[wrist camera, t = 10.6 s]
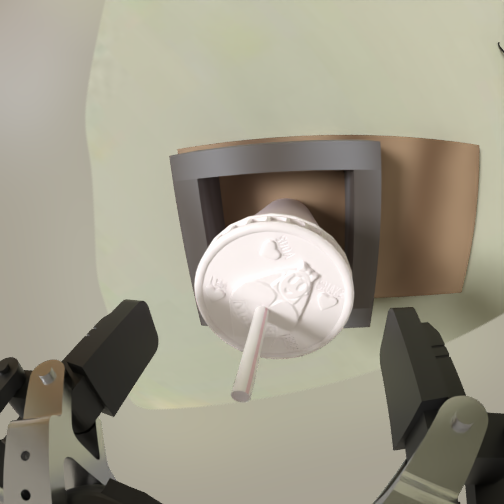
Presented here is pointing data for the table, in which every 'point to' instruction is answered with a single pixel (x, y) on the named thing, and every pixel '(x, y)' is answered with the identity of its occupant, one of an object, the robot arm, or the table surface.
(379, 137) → the board
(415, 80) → the table surface
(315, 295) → the smoothie
